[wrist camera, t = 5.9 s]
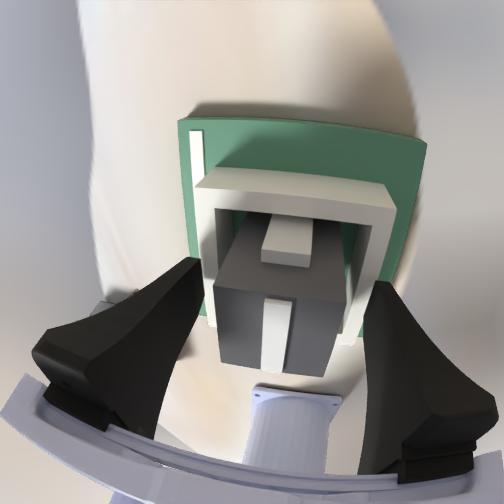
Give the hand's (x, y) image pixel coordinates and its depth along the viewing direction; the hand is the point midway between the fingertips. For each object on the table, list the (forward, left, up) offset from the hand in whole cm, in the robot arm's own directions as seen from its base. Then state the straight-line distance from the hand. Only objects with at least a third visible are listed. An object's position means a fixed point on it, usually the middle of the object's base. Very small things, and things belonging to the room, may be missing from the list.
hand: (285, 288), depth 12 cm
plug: (0, 0, -3) cm, 3 cm away
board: (0, 0, -4) cm, 4 cm away
